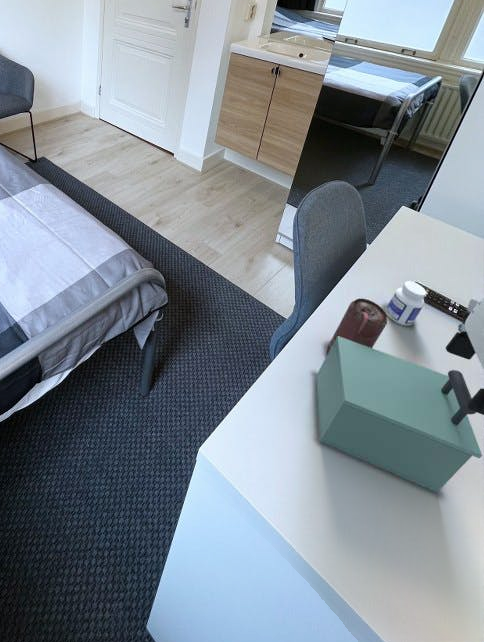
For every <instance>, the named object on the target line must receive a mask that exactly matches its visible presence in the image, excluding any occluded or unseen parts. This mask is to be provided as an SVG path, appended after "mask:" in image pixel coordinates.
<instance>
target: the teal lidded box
mask: <svg viewBox="0 0 484 642" xmlns="http://www.w3.org/2000/svg"><path fill="white" fill-rule="evenodd" d="M315 380H316V381H315V382H316V395H317V396H316V397H317V412H318V413H317V417H318V432H319V433H318V434H319V442H321V443H324V444H325V445H328V446H330V447H333V448H335V449H337V450H339V451H342V452H344V453H346V454H348V455H351V456H353V457H356V458H358V459H360V460H362V461H364V462H367V463H369V464H371V465H373V466H376V467H378V468H380V469H383V470H385V471H387V472H390V473H392V474H394V475H396V476H398V477H401V478H403V479H405V480H408V481H410V482H412V483H414V484H416V485H419V486H422V487H424V488H426V489H428V490H431V491H433V492H434V493H439V491H440V490H441V489H443V487H445V486H446V484H447V483H448V482H449V481H450V480H451V479H452V478H453V477H454V476H455V475H456V473H458V471H459V470H460V469H461V468H462V467H464V465H465V464H466V463H467V462H468V461H469V460H470V459H471V458H472V457H473V456H472V455H470V454H467V453H465V452H462V451H460V450H457V449H455V448H452V447H450V446H447V445H445V444H442V443H440V442H438V441H435V440H433V439H430V438H428V437H425V436H423V435H420V434H418V433H415V432H413V431H411V430H408V429H406V428H403V427H401V426H398V425H396V424H393V423H391V422H388V421H386V420H383V419H381V418H379V417H376V416H374V415H371V414H369V413H366V412H364V411H361V410H359V409H356V408H354V407H352V406H349V405H347V404H344V403H343V396H342V387H341V378H340V369H339V360H338V351H337V342H336V340H335V342H334V344H333V346H332V347H331V349H330V351H329V353H328V352H327V355H326V356H325V359H324V360H323V362H322V364H321V366H320V368H319V370H318V371H317V374H316V375H315Z"/></svg>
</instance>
